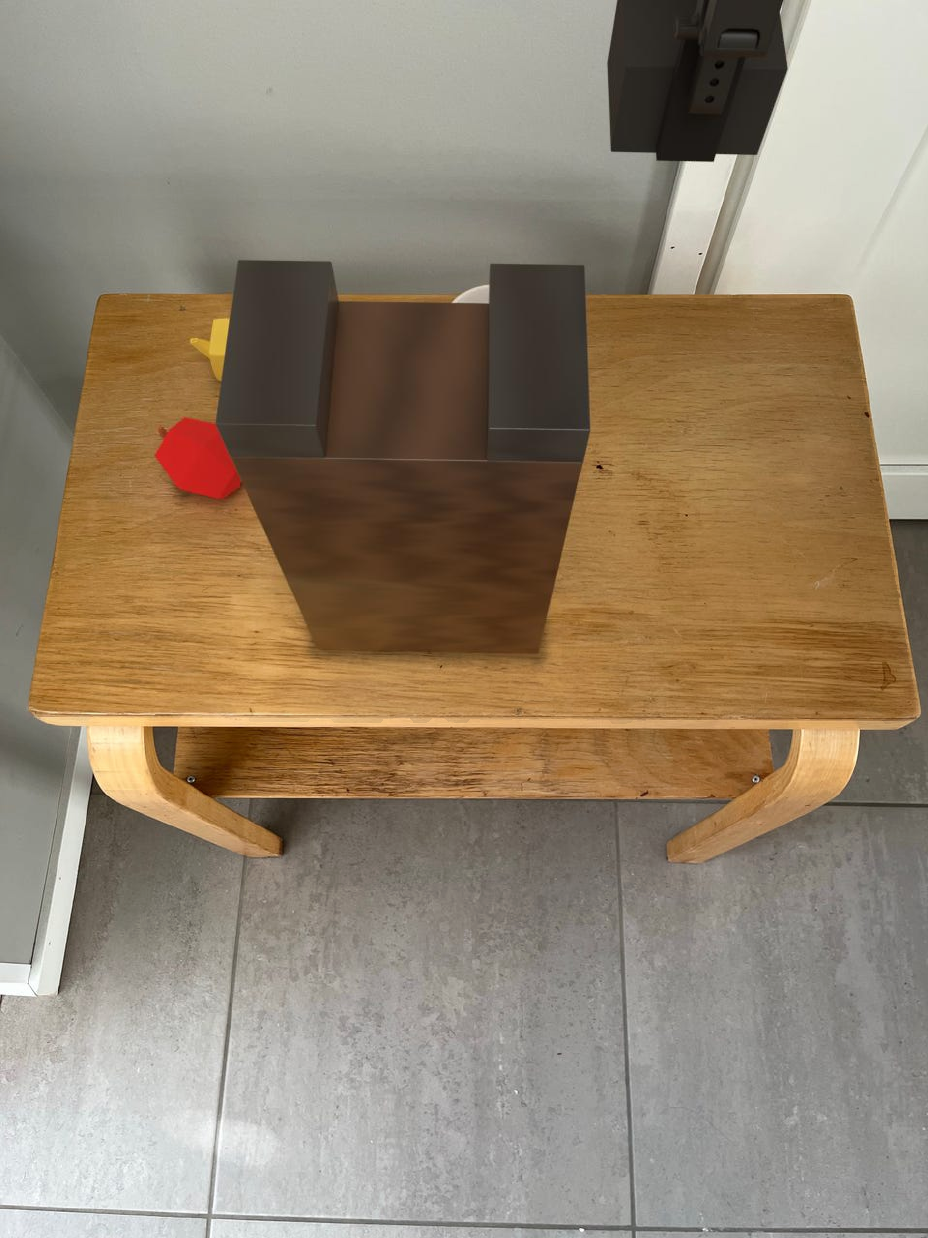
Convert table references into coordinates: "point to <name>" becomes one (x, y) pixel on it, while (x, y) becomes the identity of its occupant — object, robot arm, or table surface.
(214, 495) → the apple
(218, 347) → the teapot
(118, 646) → the table surface
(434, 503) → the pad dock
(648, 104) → the pad
